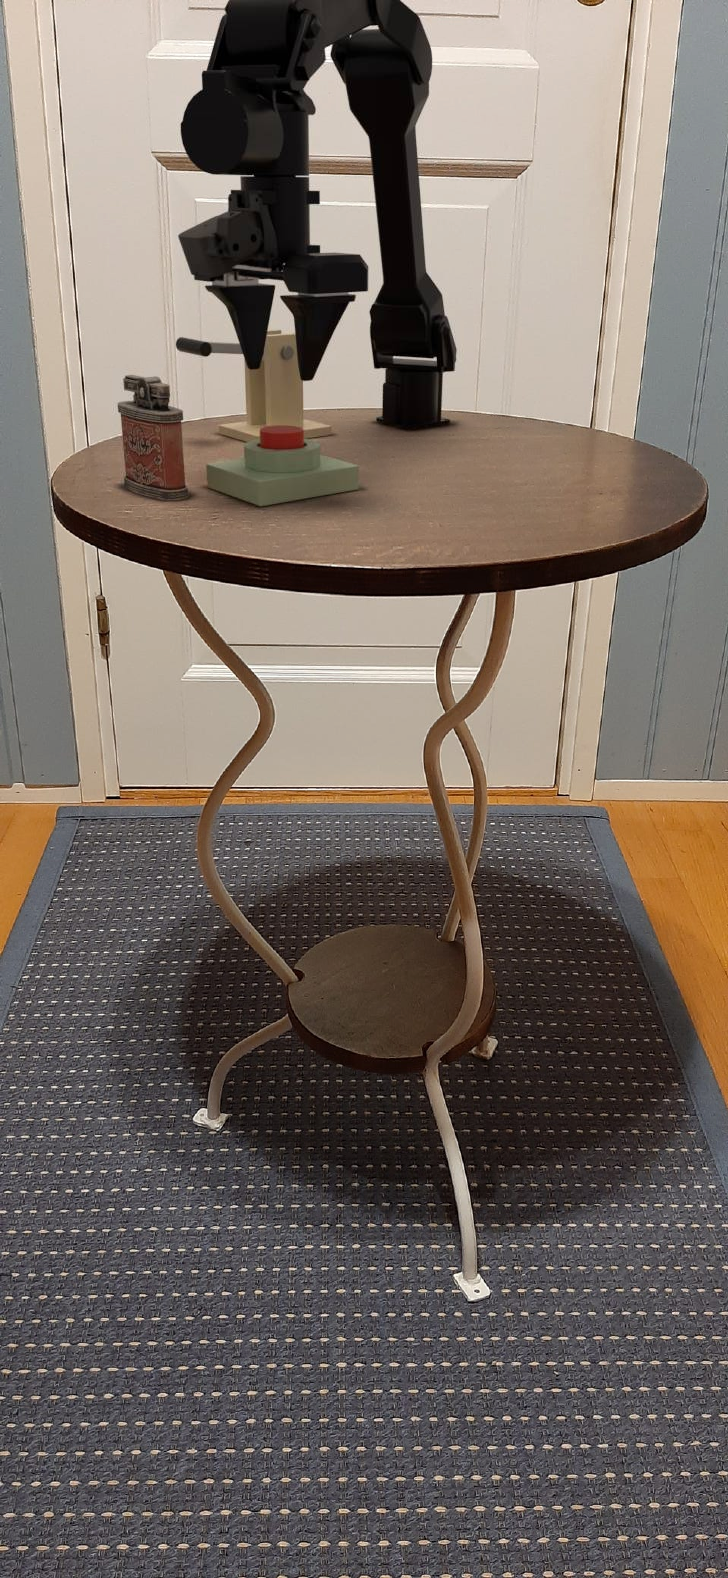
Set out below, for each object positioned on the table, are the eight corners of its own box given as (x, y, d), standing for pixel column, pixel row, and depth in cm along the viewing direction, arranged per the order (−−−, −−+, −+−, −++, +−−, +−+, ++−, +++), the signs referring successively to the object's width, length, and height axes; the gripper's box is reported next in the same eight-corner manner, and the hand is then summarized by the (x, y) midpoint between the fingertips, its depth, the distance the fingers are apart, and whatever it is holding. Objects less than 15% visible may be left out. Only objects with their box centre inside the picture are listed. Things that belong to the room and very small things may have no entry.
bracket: (257, 445, 125) (254, 339, 120) (218, 433, 130) (213, 331, 125) (331, 435, 130) (331, 332, 125) (291, 424, 136) (289, 326, 131)
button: (287, 442, 108) (287, 423, 107) (312, 449, 105) (312, 430, 104) (251, 447, 106) (251, 428, 105) (276, 455, 103) (275, 435, 102)
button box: (303, 472, 113) (302, 430, 111) (359, 489, 107) (359, 445, 105) (207, 487, 107) (204, 443, 105) (260, 506, 101) (258, 460, 99)
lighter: (196, 496, 104) (190, 380, 100) (165, 502, 102) (157, 384, 97) (146, 480, 109) (138, 370, 105) (116, 486, 107) (106, 373, 103)
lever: (199, 361, 118) (200, 336, 117) (175, 356, 122) (175, 331, 121) (295, 364, 125) (297, 341, 125) (270, 359, 129) (271, 336, 128)
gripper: (134, 175, 97) (148, 369, 105) (254, 175, 84) (261, 397, 92) (245, 176, 103) (251, 360, 111) (373, 177, 90) (371, 385, 98)
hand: (279, 374), depth 103 cm, fingers open, 8 cm apart
